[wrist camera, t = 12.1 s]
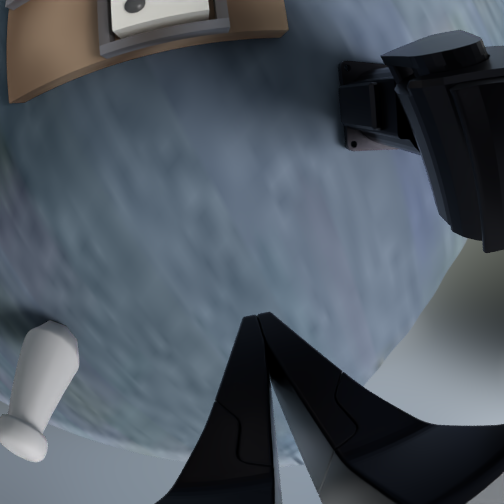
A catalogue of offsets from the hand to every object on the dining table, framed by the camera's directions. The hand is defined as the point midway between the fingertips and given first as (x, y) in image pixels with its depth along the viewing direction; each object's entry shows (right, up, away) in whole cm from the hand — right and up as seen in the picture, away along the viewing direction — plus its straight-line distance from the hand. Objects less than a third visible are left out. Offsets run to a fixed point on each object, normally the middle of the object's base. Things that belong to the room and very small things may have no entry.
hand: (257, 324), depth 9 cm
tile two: (-5, +17, +2) cm, 18 cm away
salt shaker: (-19, -6, +13) cm, 24 cm away
